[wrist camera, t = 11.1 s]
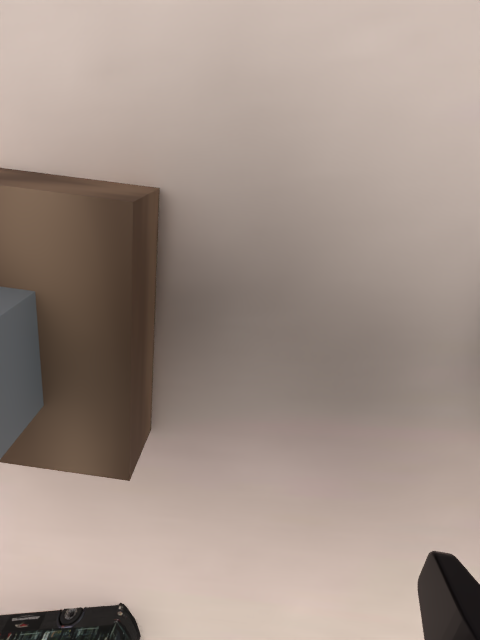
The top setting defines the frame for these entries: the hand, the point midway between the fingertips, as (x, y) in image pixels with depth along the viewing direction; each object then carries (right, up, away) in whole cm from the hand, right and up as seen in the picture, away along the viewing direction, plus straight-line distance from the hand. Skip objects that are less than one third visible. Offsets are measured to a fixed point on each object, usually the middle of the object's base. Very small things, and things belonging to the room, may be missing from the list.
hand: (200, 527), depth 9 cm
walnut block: (-9, +5, +12) cm, 16 cm away
